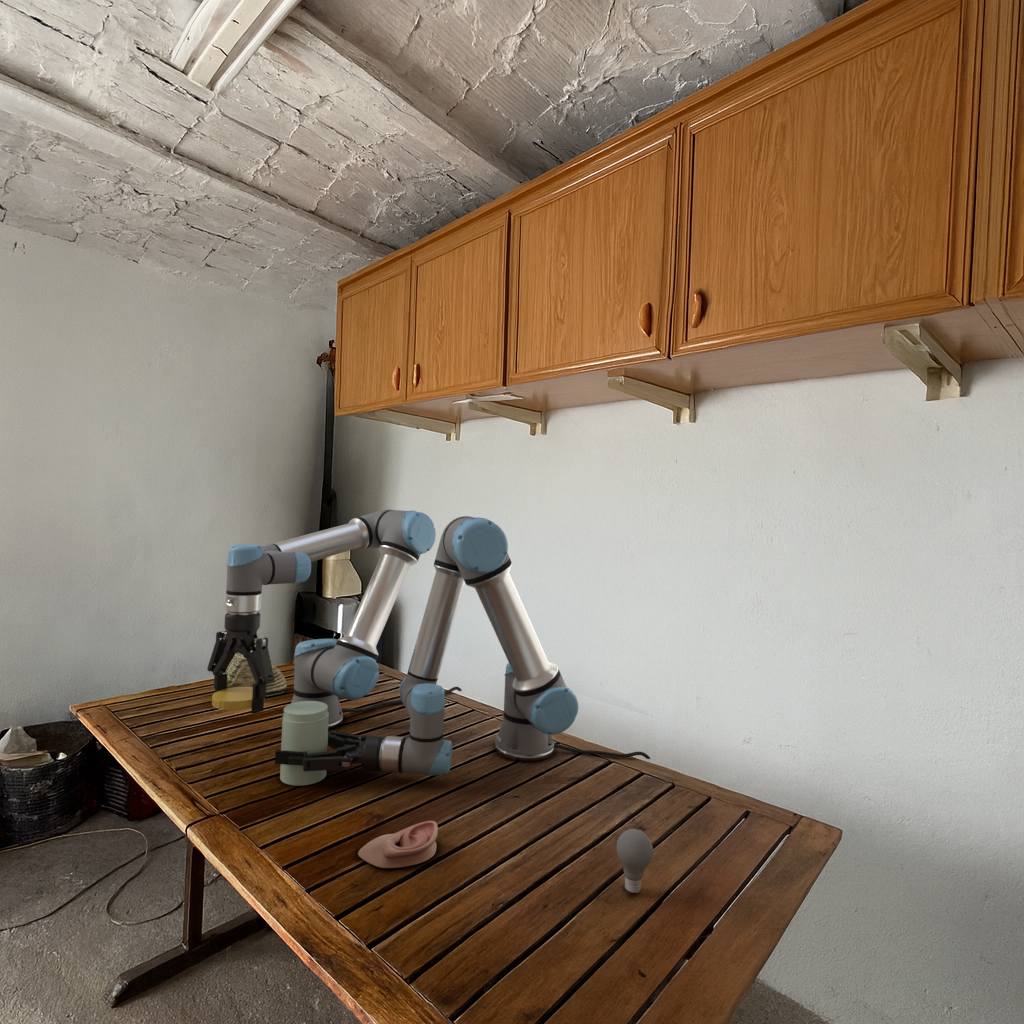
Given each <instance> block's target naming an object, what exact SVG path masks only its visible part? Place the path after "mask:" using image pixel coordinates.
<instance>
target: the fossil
mask: <svg viewBox="0 0 1024 1024" xmlns="http://www.w3.org/2000/svg"><path fill="white" fill-rule="evenodd" d="M251 652H253V651H251ZM270 660H271V665H272V670H273V675H274V680H273V681H271V682H267V684H266V696H265V697H271V696H275V695H281V694H284V693H285V691H286V689H287V687H288V686H287V680H286V678H285V676H284V674H283V673H282V672H281V669H279V668H278V667H277V665H276V663H275V662H274V660H273V659H272V658H271V657H270ZM226 671H227V672H226ZM226 671H225V672H226V673H223V674H228V676H227V688H234V687H253V684H255V683H256V682H255V679H254V677H253V674H252V672H251V669H250V667H249V664H248V662H247V659H246V658H244V657H243V654H240V653H238V652H237V653H236V654H235V655H234V657H233V659H232V661H231V662H230V664H229V666H228V667H227V669H226ZM267 677H268V676H267ZM260 679H261V677H260Z"/></svg>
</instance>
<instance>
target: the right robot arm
mask: <svg viewBox="0 0 1024 1024" xmlns="http://www.w3.org/2000/svg"><path fill="white" fill-rule="evenodd" d="M508 551H509V541H508V538H507V536H506V534H505V532H504V531H503V529H502V528H501V527H500V526H499V525H498V524H497V523H495V522H494V521H492V520H490V519H488V518H484V517H478V516H477V517H475V516H467V515H466V516H465V515H464V516H463V515H462V516H459V517H456V518H454V519H452V520H451V521H450V522H449V523H447V525H446V526H445V527H444V529H443V531H442V533H441V535H440V539H439V543H438V546H437V551H436V555H435V559H434V561H433V567H434V569H435V574H434V578H433V580H432V583H431V588H430V592H429V596H428V597H427V598H428V599H427V602H426V605H425V609H424V613H423V617H422V619H421V623H420V627H419V631H418V634H417V638H416V641H415V644H414V647H413V651H412V656H411V659H410V662H409V666H408V670H407V673H406V676H405V678H403V679H402V681H401V683H400V685H399V689H398V692H399V700H401V701H402V703H401V704H403V706H404V707H405V710H406V711H407V713H408V715H409V737H407V736H406V737H405V736H395V735H392V736H391V735H387V736H386V737H385V736H383V735H376V734H375V735H373V734H369V735H363V734H361V735H360V734H353V733H350V732H349V733H348V732H344V731H339V730H333V729H330V730H329V732H328V747H330V748H332V749H333V750H327V752H319V753H312V754H307V751H305V752H298V751H282V750H281V749H276V750H275V755H274V756H275V757H274V764H275V765H281V764H286V765H300V766H303V771H322V770H327V771H339V770H340V771H350V770H351V769H352V765H354V764H355V765H356V764H361V768H362V770H363V771H365V772H377V773H378V772H380V771H382V772H383V773H392V774H393V775H396V774H412V775H422V776H428V777H431V776H435V777H436V776H438V777H439V776H446V775H448V774H449V773H450V771H451V768H452V767H451V766H452V762H453V743H452V741H451V740H449V739H446V738H444V727H445V726H444V725H445V723H444V722H445V708H446V699H445V698H446V696H445V695H446V694H445V692H444V691H445V689H444V687H443V686H442V685H438V684H437V683H438V680H439V676H440V672H441V668H442V665H443V661H444V658H445V654H446V651H447V647H448V644H449V640H450V636H451V634H452V630H453V626H454V623H455V619H456V615H457V612H458V608H459V604H460V602H461V597H462V594H463V591H464V587H465V585H466V586H467V587H471V588H473V589H475V591H476V594H477V596H478V598H479V600H480V603H481V605H482V607H483V609H484V611H485V613H486V616H487V618H488V620H489V622H490V625H491V627H492V629H493V631H494V633H495V636H496V638H497V640H498V642H499V644H500V647H501V649H502V651H503V653H504V654H505V655H504V656H505V658H506V661H507V662H508V663H507V664H506V665H505V673H504V693H503V694H504V697H503V719H502V722H501V725H500V727H499V730H498V733H497V734H496V737H495V743H494V744H495V745H494V749H495V750H494V751H496V753H497V754H498V755H500V756H501V757H503V758H506V759H508V760H513V761H516V762H517V761H519V762H538V761H543V760H546V759H549V758H550V757H552V756H553V755H554V753H555V748H557V749H560V750H565V751H568V752H572V753H576V754H584V755H599V756H607V757H613V758H621V759H622V758H623V759H625V758H631V757H635V756H641V757H643V758H645V759H647V760H651V757H650V755H648V754H647V753H646V752H643V751H633V752H628V753H617V752H610V751H602V750H592V749H591V750H589V749H578V748H574V747H570V746H566V745H563V744H558V743H555V741H554V737H553V736H554V735H560V734H561V733H564V732H565V731H566V730H568V729H569V728H570V727H571V726H572V725H573V724H574V722H575V720H576V717H577V716H578V713H579V701H578V698H577V695H576V694H575V693H574V691H573V690H572V689H571V688H570V687H568V686H567V684H566V682H565V680H564V678H563V676H562V673H561V671H560V669H559V666H558V665H557V664H556V663H554V662H551V661H549V660H548V658H547V655H546V653H545V651H544V648H543V646H542V644H541V641H540V639H539V637H538V635H537V633H536V630H535V628H534V626H533V624H532V622H531V619H530V616H529V615H528V612H527V610H526V607H525V606H524V603H523V601H522V598H521V597H520V594H519V592H518V589H517V588H516V584H515V583H514V580H513V578H512V576H511V574H510V572H511V569H512V566H513V562H512V560H511V558H510V555H509V553H508Z"/></svg>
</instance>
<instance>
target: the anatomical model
mask: <svg viewBox="0 0 1024 1024" xmlns="http://www.w3.org/2000/svg"><path fill="white" fill-rule="evenodd" d="M438 833H439V826H438V823H437V822H436V821H435V820H426V821H422V822H419V823H416V824H413V825H410V826H408V827H406V828H403V829H401V830H399V831H397V832H394V833H387V834H382V835H380V836H377V837H375V838H373V839H372V840H370V841H368V842H367V843H366V844H365V845H363V846H361V848H360V849H359V850H358V852H357V855H358V857H359V858H360V859H362V860H363V861H365V862H366V863H368V864H370V865H372V866H375V867H377V868H381V869H395V868H404V867H410V866H415V865H418V864H421V863H424V862H426V861H428V860H430V859H431V858H433V857H434V855H435V854H436V852H437V841H436V840H437V838H438Z"/></svg>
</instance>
